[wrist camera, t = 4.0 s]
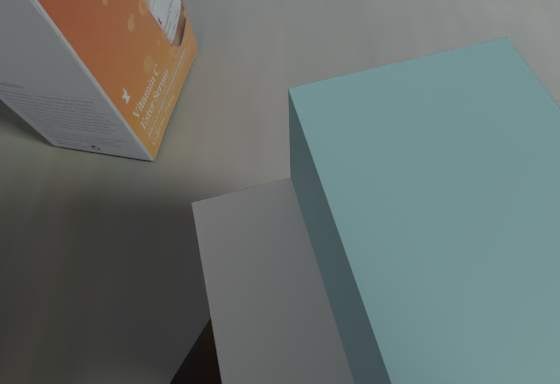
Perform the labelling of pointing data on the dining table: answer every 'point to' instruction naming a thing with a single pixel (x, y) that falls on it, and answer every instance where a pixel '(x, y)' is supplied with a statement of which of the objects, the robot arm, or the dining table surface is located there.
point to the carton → (398, 232)
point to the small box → (96, 70)
